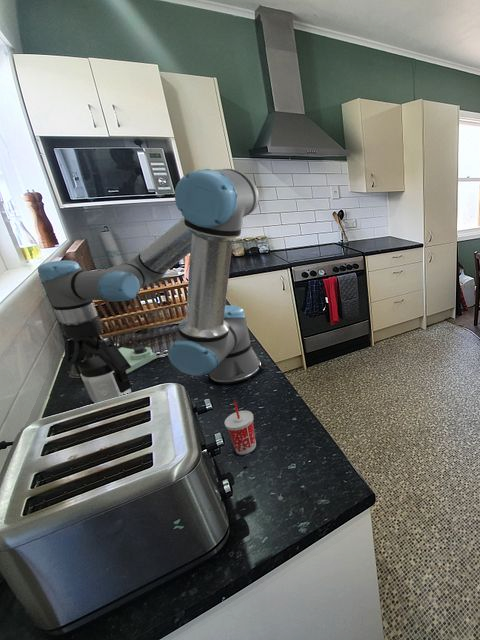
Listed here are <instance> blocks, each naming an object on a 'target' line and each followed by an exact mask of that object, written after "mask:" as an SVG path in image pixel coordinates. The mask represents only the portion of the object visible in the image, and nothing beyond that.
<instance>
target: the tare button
mask: <svg viewBox="0 0 480 640" xmlns="http://www.w3.org/2000/svg"><path fill="white" fill-rule="evenodd" d="M133 349H134V351H135V354H141V353H144V352H146V349H145V346H144V345H138V346H136V347H134V348H133Z"/></svg>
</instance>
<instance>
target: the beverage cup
mask: <svg viewBox="0 0 480 640" xmlns="http://www.w3.org/2000/svg"><path fill="white" fill-rule="evenodd" d="M233 405H234V409H235V412H233V413H231V414H229V415H228V416H227V417H226V418H225V420H224V426H225V428H226V429H227V432H228V435H229V436H230V439H231V442H232V446H233V448H234V450H235V452H236V454H238V455H247V454H249V453H251V452H253V451H254V450H255V449H256V447H257V441H256V432H255V427H254V426H255V425H254V414H253V413H252V411H249V410H239V408H238V404H237V401H236V400H234V401H233Z"/></svg>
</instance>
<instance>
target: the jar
mask: <svg viewBox="0 0 480 640" xmlns="http://www.w3.org/2000/svg"><path fill="white" fill-rule="evenodd" d="M83 361H84V362H83ZM83 361H82V363H81V364H80V365H79V366H78V368H79V370H80V372H81V374H80V376H81V378H82V380H83V382H84V384H85V385H84V387H85V388H86V389H85V390H86V391H87V393H88V396H89V397H90V399H91V402H93V403H95V404H96V402H100V401H104V400H107V399H110V398H113V397H117V396H120V395H123V394H127V393H129V394H131V393H132V389H131V388H130V389H128V390H126V391H125V392H123V393H120V391H119V388H118V386H117V383H116V381H115V378H114V376H113V373H114V371H113V370H112V369H111V368H110V367H109V366H108V365H107V364H106V363H105V362H104V361H103V360H102V359H101V358H100V357H99V356H96V355H95V356H93V357H90V358H88V359H87V358H86V359H85V360H83Z"/></svg>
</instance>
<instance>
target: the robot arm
mask: <svg viewBox="0 0 480 640" xmlns="http://www.w3.org/2000/svg"><path fill="white" fill-rule="evenodd" d="M259 199H260V197H259V190H258V188H257V186H256V184H255V182H254V180H253V179H251V177H249V176H248V174H245V173H244V172H242V171H240V170H237V169H233V168H223V169H221V168H219V169H211V168H203V169H197V170H194V171H191V172H188V173H186V174H185V175H184V176H182V177H181V178H180V180H179V181H178V182H177V184H176V186H175V190H174V201H175V205H176V207H177V209H178V210H179V211H180V212H181V215H182V218H181V219H180V220H178V221H177V222H176V223H175V224H173V225H172V226H171V227H170V228H169V229H168V230H167V231H165V232H164V233H163V234H161V235H160V236H158V237H157V238H156V239H155V240H154V241H153V242H152V243H150V244H149V245H148V246H147V247H146V248H144V249H143V250H142V251H140V253H138V254H137V255H136V256H135V257H133V258H132V259H130V260H128V261H126V262H123V263H120V264H117V265H115V266H111V267H108V268H106V269H103V270H85V269H82V267H81V266H80V264H79V263H78V261H75V260H68V259H67V260H66V259H65V260H64V259H63V260H55V261H49V262H45V263H42V264H40V265H38V267H37V272H38V275H39V279H40V283H41V284H42V286H43V288H44V290H45V293H46V295H47V297H48V299H49V301H50V303H51V305H52V308H53V311H54V313H55V317H56V319H57V320H58V322H59V323H60V326H61V329H62V332H63V334H62V338H63V341H64V360H65V361H66V362H67V363H68V362H70V364H71V365H74V368H75V370H76V372H77V375H78V377H79V380H80V382H81V383H82V385H84V386H85V384H84V382H83V380H82V378H81V376H80V374H81V372H80V370H79V368H78V366H79V365H80V364H81V363H82V362H84V361H85V360H86V355H87V353H91V354H93V355H94V356H95V357H96V356H99V357H100V358H101V359H102V360H103V361H104V362H105V363H106V364H107V365H108V366H109V367H110V368H111V369H112V370H113V371H114V373H113V376H114V378H115V381H116V383H117V386H118V388H119V391H120V393H123V392H125V391H126V390H128V389H131V388H132V385H131V382H130V380H129V376H128V373H126V370H127V369H129V368H131V365H130V364H129V363H128V362H127V360H126V359H125V358H124V356H123V355H122V354H121V352H120V351H119V350H118V349H119V348H118V347H117V345H116V344H115V342H114V340H113V338H112V337H110V336H108V337H105V338H103V337H102V335H101V332H102V331H103V329H104V326H103V323H102V321H101V318H100V316H98V315H99V314H98V311H97V309H96V305H95V303H94V301H106V302H107V301H108V302H126V301H127V302H128V301H132V300H134V299H135V298H136V297H137V295H138V294H139V293H140V290H141V288H143V287H146V286H148V285H150V284H152V283H156V282H158V281H160V280H161V279H162V278H163V277H164V276H165V275H166V274H167V271H169V270H170V269H171V268H172V267H174V266H175V265H176V264H178V263H179V262H180V261H182V260H183V259H184V258H185V257H187V256H188V255H189V268H188V282H187V298H186V312H185V313H186V315H185V318H183V319H181V320H180V321H179V322H178V326H177V328H178V329H177V338H176V341H174V342H172V343H171V345H170V346H169V348H168V350H167V357H168V360H169V362H170V363H171V365H172V366H173V367H175V368H176V369H177V370H178V371H180V372H182V373H183V374H186V375H190V376H194V377H202V376H206V375H209V379H210V380H211V382H212V383H214V384H218V385H226V386H227V385H235V384H239V383H243V382H246V381H248V380H251V379H252V378H255V376H257V375H258V374H259V373H260V372H261V371H265V370H266V367H265V366H262V363H261V360H260V358H259V357H258V356H257V354H256V352H255V351H254V349H253V348H252V344H251V339H250V333H249V328H248V323H247V317H246V315H245V311H244V309H243V308H242V307H241V306H238V305H233V304H232V305H227V304H226V303H227V294H228V285H229V278H230V270H231V269H230V267H231V260H232V249H233V243H234V240H235V239H237V238H238V237H240V236H241V235H242V234H241V233H242V227H243V219H244V218H245V217H247V216H249V215H250V214H252V213H253V212H254V211H255V210H256V209H257V207H258V205H259Z"/></svg>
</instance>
